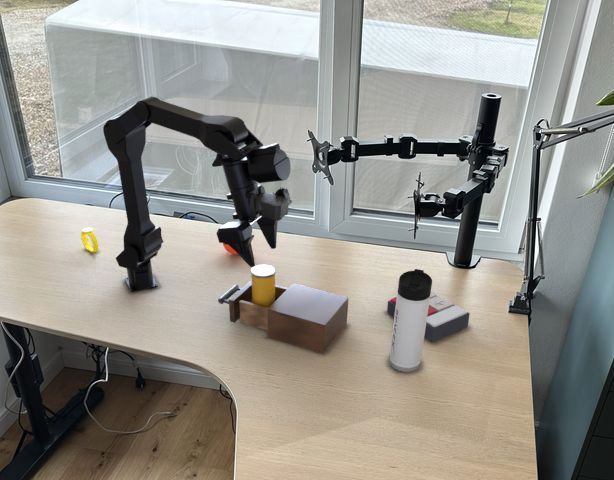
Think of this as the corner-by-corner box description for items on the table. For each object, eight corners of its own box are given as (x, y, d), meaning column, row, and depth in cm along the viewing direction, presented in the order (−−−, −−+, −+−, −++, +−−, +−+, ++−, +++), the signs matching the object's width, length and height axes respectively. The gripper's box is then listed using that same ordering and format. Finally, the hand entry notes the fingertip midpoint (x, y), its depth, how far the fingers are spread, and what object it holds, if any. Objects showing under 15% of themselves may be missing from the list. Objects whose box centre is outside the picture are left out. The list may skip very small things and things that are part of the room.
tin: (248, 308, 146) (247, 266, 140) (270, 304, 148) (270, 262, 142) (257, 320, 142) (256, 278, 136) (279, 315, 144) (279, 273, 138)
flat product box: (422, 284, 153) (471, 310, 143) (421, 300, 155) (468, 327, 145) (387, 298, 148) (434, 325, 137) (385, 314, 150) (432, 343, 140)
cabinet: (267, 337, 140) (267, 309, 136) (293, 310, 149) (293, 283, 145) (323, 354, 136) (325, 325, 132) (346, 325, 145) (348, 297, 141)
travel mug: (422, 357, 136) (436, 271, 124) (416, 375, 131) (429, 288, 119) (393, 350, 137) (403, 266, 126) (385, 368, 132) (395, 282, 121)
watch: (102, 252, 170) (98, 231, 167) (93, 256, 169) (89, 235, 165) (90, 245, 174) (86, 224, 170) (80, 248, 172) (76, 227, 168)
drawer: (213, 317, 145) (212, 295, 142) (239, 294, 153) (238, 273, 150) (279, 336, 139) (279, 314, 136) (302, 311, 148) (302, 290, 144)
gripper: (253, 197, 119) (275, 275, 126) (298, 165, 133) (316, 237, 140) (204, 202, 125) (228, 277, 132) (252, 171, 139) (272, 240, 146)
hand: (263, 257), depth 137 cm, fingers open, 9 cm apart
